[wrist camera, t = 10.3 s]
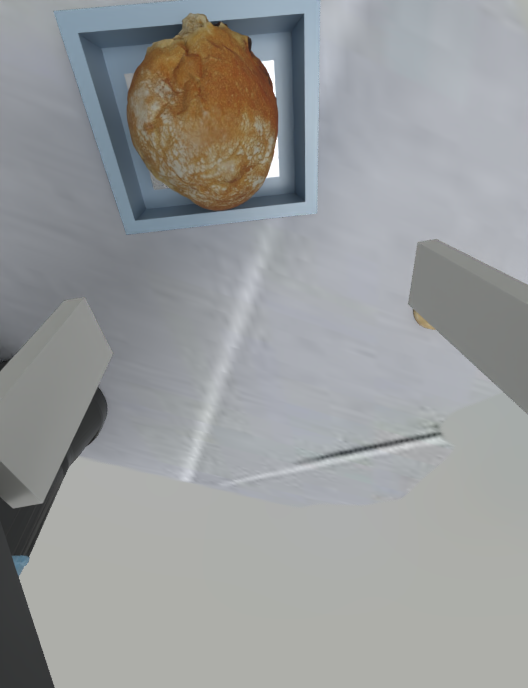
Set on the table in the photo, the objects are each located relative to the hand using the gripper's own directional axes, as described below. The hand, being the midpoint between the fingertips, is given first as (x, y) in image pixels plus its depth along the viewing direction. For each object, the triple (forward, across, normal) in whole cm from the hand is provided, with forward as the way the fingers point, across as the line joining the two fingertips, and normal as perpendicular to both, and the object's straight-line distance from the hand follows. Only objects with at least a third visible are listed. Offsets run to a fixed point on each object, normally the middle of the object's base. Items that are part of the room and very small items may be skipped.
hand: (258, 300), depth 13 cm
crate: (+22, -1, +6) cm, 22 cm away
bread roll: (+17, -1, +6) cm, 18 cm away
